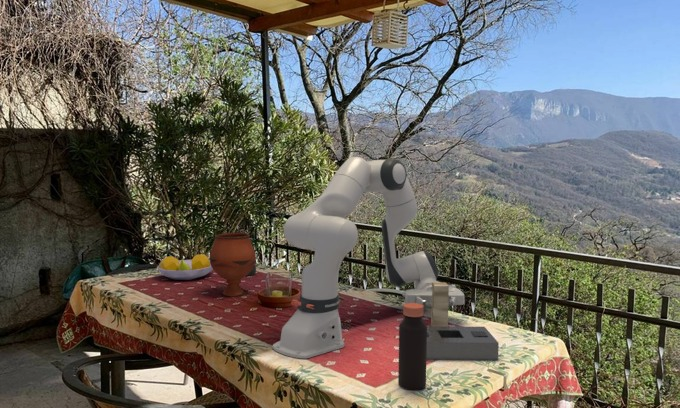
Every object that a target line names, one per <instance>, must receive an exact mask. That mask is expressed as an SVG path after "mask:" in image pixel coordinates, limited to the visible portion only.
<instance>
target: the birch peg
mask: <svg viewBox="0 0 680 408" xmlns="http://www.w3.org/2000/svg"><path fill="white" fill-rule="evenodd" d="M448 284H449V283H447V282H441V283H437V282H432V306H431V314H430V315H431V317H430V318H431V319H430V321H431V322H430V326H449V305H448V296H449V286H448Z"/></svg>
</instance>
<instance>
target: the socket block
mask: <svg viewBox="0 0 680 408" xmlns="http://www.w3.org/2000/svg"><path fill="white" fill-rule="evenodd" d="M426 326H427V355H426V361H427V360H428V361H429V360H434V361H440V360H441V361H442V360H443V361H449V360H450V361H499V341H497V339H496V338H495V337H494V336H493V335H492V334H491V332H490V331H489V330H488V329H487V328H486V326H464V325H462V326H457V325H456V326H455V325H453V326H452V325H451V326H449V325H448V326H431V325H426Z"/></svg>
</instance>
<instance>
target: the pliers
mask: <svg viewBox="0 0 680 408" xmlns="http://www.w3.org/2000/svg"><path fill="white" fill-rule="evenodd" d="M344 300H345V301H344ZM342 301H344V302H348V299H347V298H345V297H343V296H341V295H339V303H342Z"/></svg>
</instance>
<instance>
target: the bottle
mask: <svg viewBox="0 0 680 408" xmlns="http://www.w3.org/2000/svg"><path fill="white" fill-rule="evenodd" d="M402 307H403V308H402V310H403V311H402V313H403V317H404V319H403V320H402V321H401V322H400V323H399V326H398V369H397V370H398V372H397V373H398V376H397V377H398V379H397V381H398V385H399V386H400V387H401V388H402V387H403V388H402V389H404V390H405V389H406V390H409V391H419V390H423V389H424V388H425V387H426V385H427V360H426V355H427V326H428V325H427V324H426V323H425V321H424V320H423V317H424V313H425V312H424V308H425V306H423V305H421V304H417V303H407V304H406V303H404V304H403V306H402Z"/></svg>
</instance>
